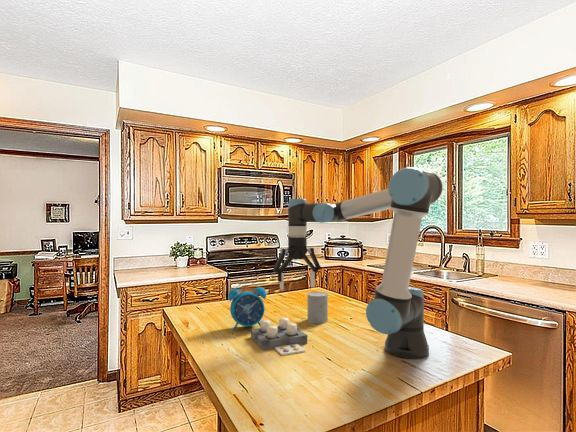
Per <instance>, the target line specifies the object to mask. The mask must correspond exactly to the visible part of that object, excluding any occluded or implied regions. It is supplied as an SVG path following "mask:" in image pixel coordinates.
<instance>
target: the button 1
mask: <svg viewBox="0 0 576 432" xmlns="http://www.w3.org/2000/svg"><path fill="white" fill-rule="evenodd" d="M259 322H260V326H259V327H260V330H261V331H263V332H267V327H268V326H271V320H270V319H261V320H260V321H259Z"/></svg>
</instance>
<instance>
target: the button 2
mask: <svg viewBox="0 0 576 432" xmlns="http://www.w3.org/2000/svg"><path fill="white" fill-rule="evenodd" d="M277 326H278V325H270V326H268V327H267V337H268V338H276V337H278V327H277Z"/></svg>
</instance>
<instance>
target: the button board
mask: <svg viewBox="0 0 576 432" xmlns="http://www.w3.org/2000/svg"><path fill="white" fill-rule="evenodd" d="M276 326H277V327H278V337H276V338H268V337H267V332H263V331H261V330H260V328H259V327H258V328H252V329H250V337H251V339H252V340H253V341H254V342H255V343H256V344H257V345H258V347H259V348H260V349H261V350H262V351H266V350H272V349H275V347H279V346H285V345H292V344H298V345H299V346H300V345H304V344H307V343H308V334H306V333H305V332H304V331H302V330H301V329H300V328H298V327H297V334H296V335H287V329H280V328H279V325H276Z"/></svg>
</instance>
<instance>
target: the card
mask: <svg viewBox="0 0 576 432" xmlns="http://www.w3.org/2000/svg"><path fill="white" fill-rule="evenodd" d="M274 350H276V352H277V353H278V354H279V355H280V356H281V357H282V356H287V355H288V356H289V355H296V354H301V353H306V350H305V349H304V348H303V347H302V346H301V345H300V344H299V345H298V344H292V345H285V346H279V347H275V348H274Z"/></svg>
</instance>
